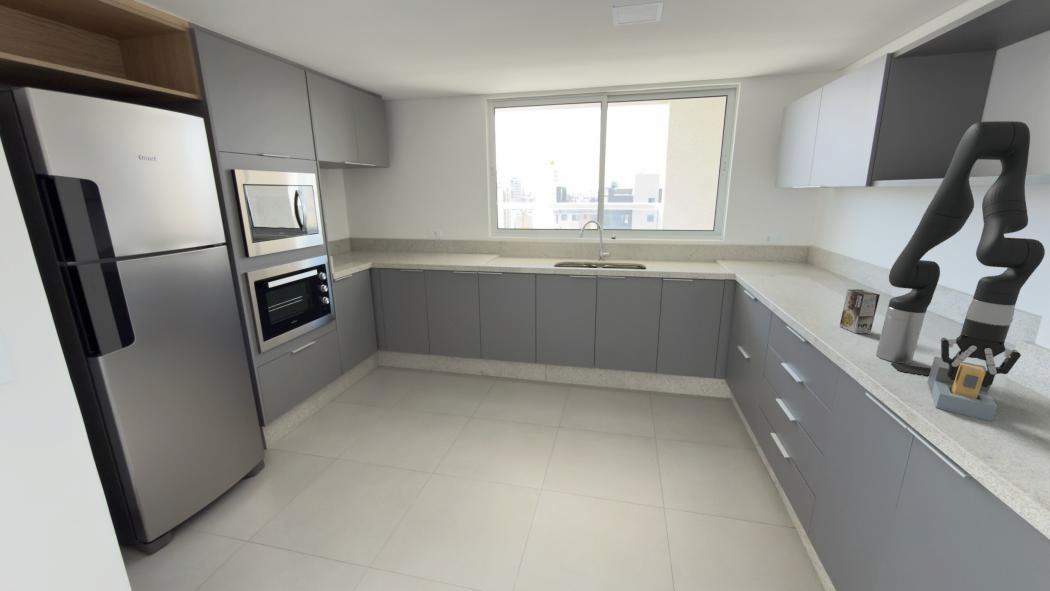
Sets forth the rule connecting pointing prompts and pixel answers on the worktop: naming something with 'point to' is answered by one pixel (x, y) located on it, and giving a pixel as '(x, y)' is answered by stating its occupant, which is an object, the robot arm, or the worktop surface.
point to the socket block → (957, 403)
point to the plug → (968, 380)
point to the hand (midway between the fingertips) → (967, 382)
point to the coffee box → (859, 310)
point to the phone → (911, 369)
